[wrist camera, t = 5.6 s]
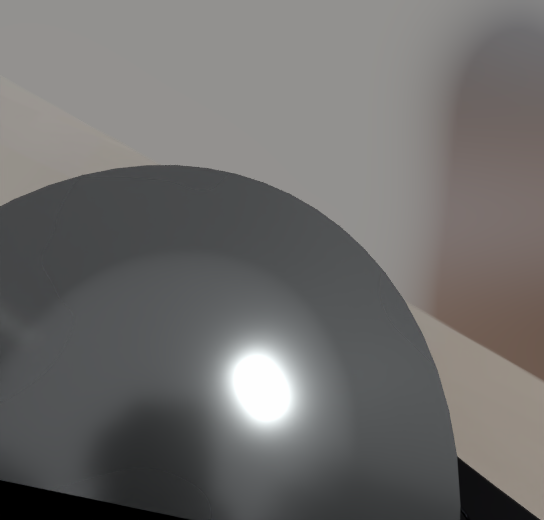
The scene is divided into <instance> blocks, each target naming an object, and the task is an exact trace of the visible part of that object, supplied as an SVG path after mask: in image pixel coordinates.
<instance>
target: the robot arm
mask: <svg viewBox="0 0 544 520" xmlns="http://www.w3.org/2000/svg"><path fill="white" fill-rule="evenodd" d="M457 463H458V477H459V492H460V506H461V507H460V520H540V519H539V518H537V517H536V516H535V515H533V514H532V513H531V512H529V511H528V510H527V509H525V508H524V507H523V506H521V505H520V504H519V503H517V502H516V501H515V500H513V499H512V498H511V497H509V496H508V495H507V494H505V493H504V492H503V491H501V490H500V489H499V488H497V487H496V486H495V485H493V484H492V483H491V482H489V481H488V480H487V479H486V478H484V477H483V476H482V475H480V474H479V473H478V472H476V471H475V470H474V469H473V468H471V467H470V466H469V465H467V464H466V463H465V462H464V461H462V460H461V459H460V458H459V457H458V456H457Z"/></svg>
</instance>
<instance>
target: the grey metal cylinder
mask: <svg viewBox="0 0 544 520" xmlns="http://www.w3.org/2000/svg"><path fill="white" fill-rule="evenodd" d="M460 507H461V506H460V492H459V477H458V463H457V453H456V447H455V442H454V436H453V430H452V425H451V419H450V413H449V409H448V405H447V402H446V398H445V395H444V391H443V388H442V385H441V381H440V378H439V374H438V371H437V368H436V365H435V363H434V361H433V358H432V356H431V353H430V351H429V348H428V346H427V343H426V341H425V339H424V336H423V334H422V332H421V330H420V328H419V326H418V324H417V323H416V321H415V319H414V317H413V315H412V313H411V312H410V310H409V308H408V306H407V304H406V302H405V301H404V299H403V298H402V296H401V295H400V293H399V292H398V290H397V289H396V288H395V286H394V285H393V283H392V282H391V280H390V279H389V278H388V276H387V275H386V273H385V272H384V271H383V270H382V269H381V267H380V266H379V265H378V264H377V263H376V262H375V260H374V259H373V258H372V257H371V256H370V255H369V254H368V252H367V251H366V250H365V249H364V248H363V247H362V246H361V245H360V244H359V243H358V242H356V241H355V240H354V239H353V238H352V237H351V236H350V235H349V234H348V233H347V232H346V231H344V230H343V229H342V228H341V227H340V226H339V225H337V224H336V223H335V222H333V221H332V220H330V219H329V218H328V217H326V216H325V215H324V214H322V213H321V212H319V211H318V210H317V209H315V208H313V207H312V206H310V205H308V204H306V203H305V202H303V201H301V200H299V199H298V198H296V197H294V196H292V195H291V194H289V193H286V192H284V191H282V190H279V189H277V188H275V187H273V186H270V185H268V184H266V183H263V182H260V181H257V180H254V179H250V178H247V177H244V176H241V175H238V174H234V173H229V172H224V171H219V170H213V169H209V168H200V167H190V166H178V165H146V166H137V167H127V168H117V169H111V170H106V171H101V172H96V173H91V174H86V175H82V176H78V177H75V178H72V179H68V180H65V181H62V182H58V183H55V184H52V185H49V186H46V187H44V188H41V189H39V190H36V191H34V192H31V193H29V194H26V195H24V196H21V197H19V198H16V199H14V200H12V201H10V202H8V203H6V204H4V205H2V206H0V520H460Z"/></svg>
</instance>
